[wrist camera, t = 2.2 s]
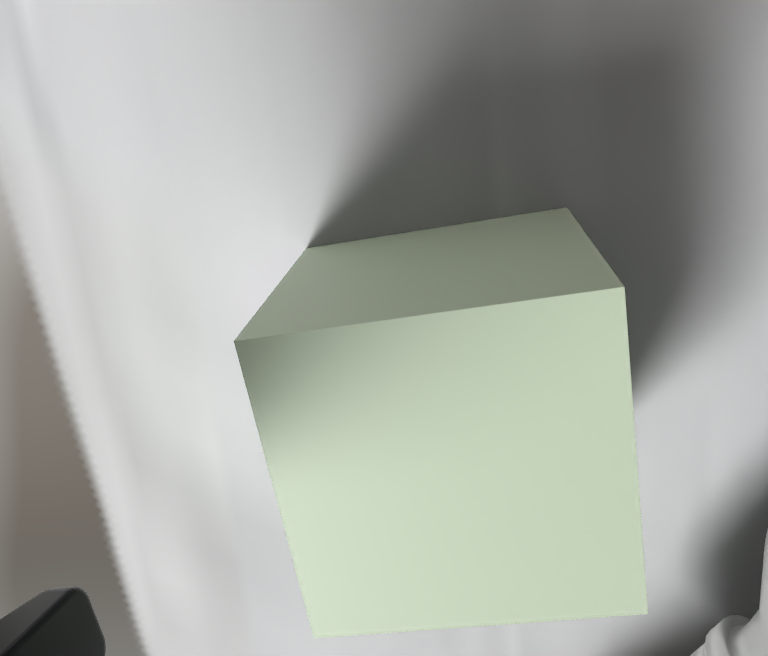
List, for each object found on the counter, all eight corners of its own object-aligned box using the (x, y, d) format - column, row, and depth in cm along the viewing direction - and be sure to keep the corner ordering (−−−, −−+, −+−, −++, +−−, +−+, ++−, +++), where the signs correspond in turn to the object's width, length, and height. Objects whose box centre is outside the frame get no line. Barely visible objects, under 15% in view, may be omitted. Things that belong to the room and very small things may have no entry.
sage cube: (588, 441, 15) (647, 614, 10) (356, 467, 16) (313, 638, 11) (566, 206, 13) (624, 286, 9) (307, 247, 14) (233, 341, 10)
